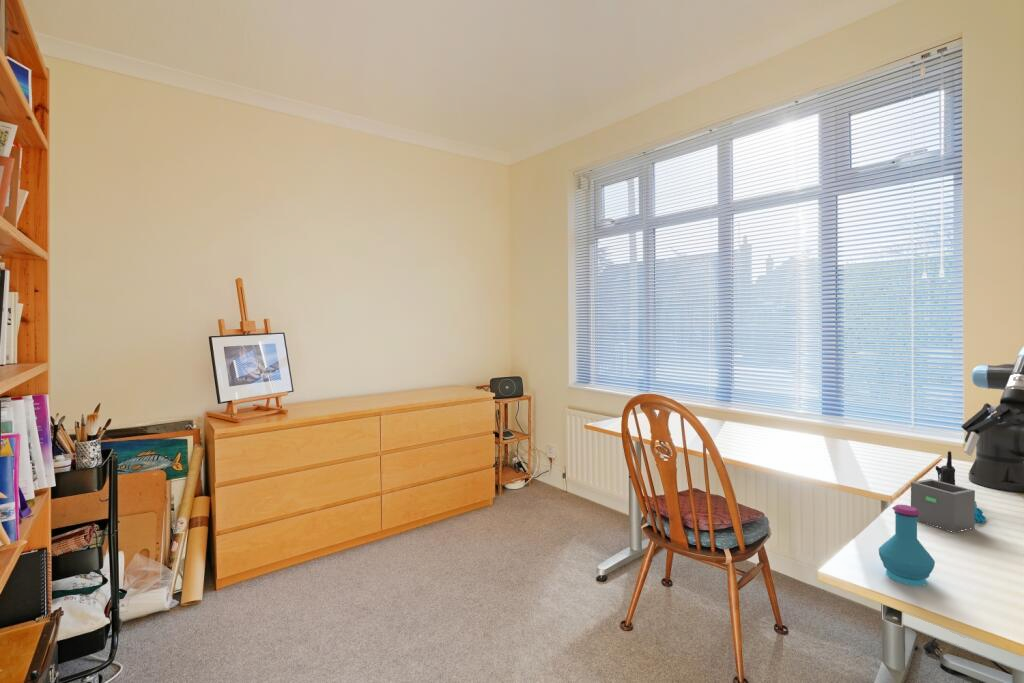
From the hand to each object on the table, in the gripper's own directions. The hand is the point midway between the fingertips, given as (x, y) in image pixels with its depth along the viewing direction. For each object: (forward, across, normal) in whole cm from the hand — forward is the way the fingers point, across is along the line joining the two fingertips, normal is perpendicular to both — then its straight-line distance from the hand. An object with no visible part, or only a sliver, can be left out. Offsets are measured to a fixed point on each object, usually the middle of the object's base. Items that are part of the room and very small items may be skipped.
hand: (996, 459), depth 134 cm
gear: (+20, 0, -2) cm, 20 cm away
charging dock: (+25, +1, -11) cm, 27 cm away
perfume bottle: (+46, +17, -42) cm, 65 cm away
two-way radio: (+14, -11, +6) cm, 19 cm away
